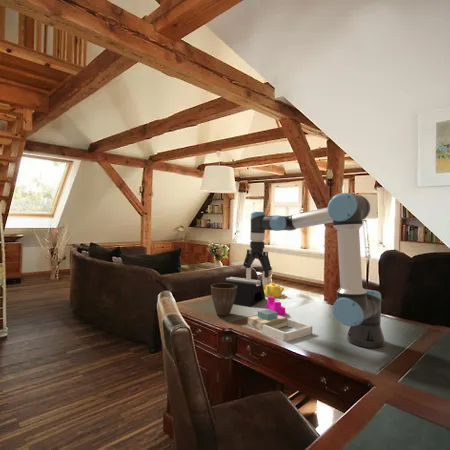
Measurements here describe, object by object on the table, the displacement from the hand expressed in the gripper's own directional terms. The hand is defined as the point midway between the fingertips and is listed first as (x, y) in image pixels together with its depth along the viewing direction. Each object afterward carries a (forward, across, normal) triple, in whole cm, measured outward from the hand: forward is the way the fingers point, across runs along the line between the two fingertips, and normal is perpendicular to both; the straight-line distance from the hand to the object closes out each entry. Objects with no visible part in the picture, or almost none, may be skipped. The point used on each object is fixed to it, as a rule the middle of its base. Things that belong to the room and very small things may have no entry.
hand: (256, 281), depth 172 cm
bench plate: (+21, -9, 0) cm, 23 cm away
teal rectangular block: (+17, -9, 0) cm, 19 cm away
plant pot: (+21, +20, +6) cm, 29 cm away
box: (+21, -22, 0) cm, 30 cm away
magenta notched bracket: (+21, +6, -22) cm, 31 cm away
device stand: (+21, +36, -22) cm, 47 cm away
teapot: (+21, +33, -46) cm, 60 cm away
